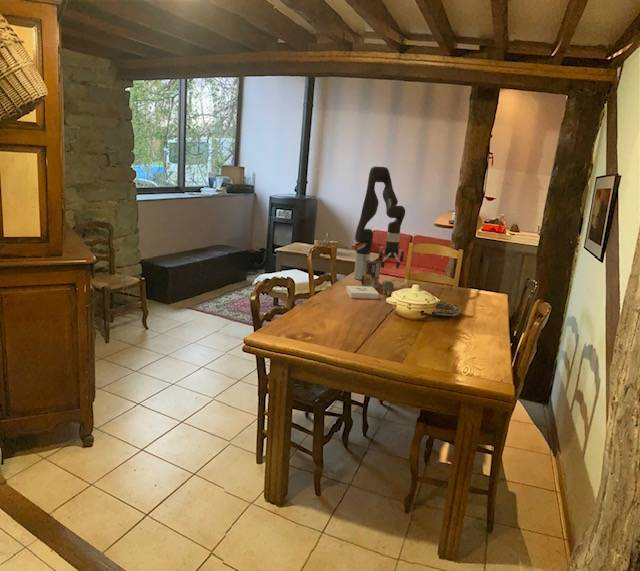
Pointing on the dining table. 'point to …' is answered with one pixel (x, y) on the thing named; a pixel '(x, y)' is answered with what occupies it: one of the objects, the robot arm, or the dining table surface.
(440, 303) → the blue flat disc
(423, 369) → the dining table surface
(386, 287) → the plug
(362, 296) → the socket board
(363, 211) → the robot arm
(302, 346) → the dining table surface
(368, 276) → the coffee box
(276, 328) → the dining table surface
